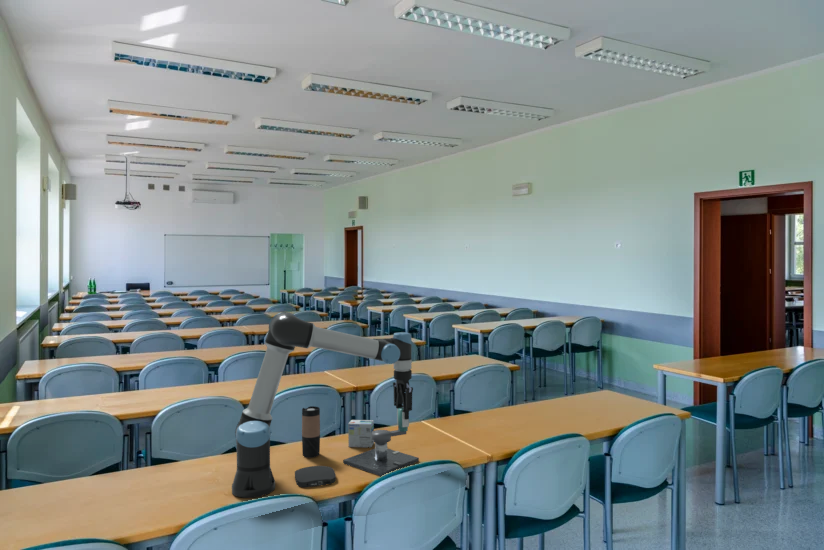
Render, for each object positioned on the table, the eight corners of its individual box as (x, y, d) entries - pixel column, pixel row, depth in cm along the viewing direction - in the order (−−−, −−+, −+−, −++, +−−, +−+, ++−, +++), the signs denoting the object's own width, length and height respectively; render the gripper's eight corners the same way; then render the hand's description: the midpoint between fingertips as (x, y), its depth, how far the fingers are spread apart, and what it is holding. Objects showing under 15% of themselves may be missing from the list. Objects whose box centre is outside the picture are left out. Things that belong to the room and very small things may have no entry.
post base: (382, 476, 215) (381, 453, 214) (343, 463, 229) (343, 441, 229) (418, 461, 231) (418, 439, 231) (380, 449, 246) (380, 429, 245)
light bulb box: (374, 443, 255) (374, 419, 255) (371, 448, 248) (371, 423, 248) (351, 442, 256) (351, 419, 256) (348, 447, 249) (347, 423, 249)
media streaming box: (331, 470, 222) (330, 463, 222) (337, 484, 208) (337, 476, 208) (293, 475, 217) (293, 467, 217) (297, 489, 204) (297, 481, 203)
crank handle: (411, 438, 232) (411, 410, 232) (375, 444, 225) (375, 415, 224) (403, 433, 239) (403, 406, 239) (368, 438, 232) (368, 410, 232)
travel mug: (318, 458, 235) (318, 410, 235) (300, 458, 235) (300, 410, 235) (321, 452, 243) (321, 406, 242) (304, 451, 243) (303, 406, 243)
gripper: (420, 372, 228) (420, 429, 229) (400, 365, 243) (401, 419, 244) (404, 373, 225) (404, 431, 225) (385, 367, 240) (385, 421, 240)
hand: (402, 425), depth 234 cm, fingers closed on crank handle, 4 cm apart
